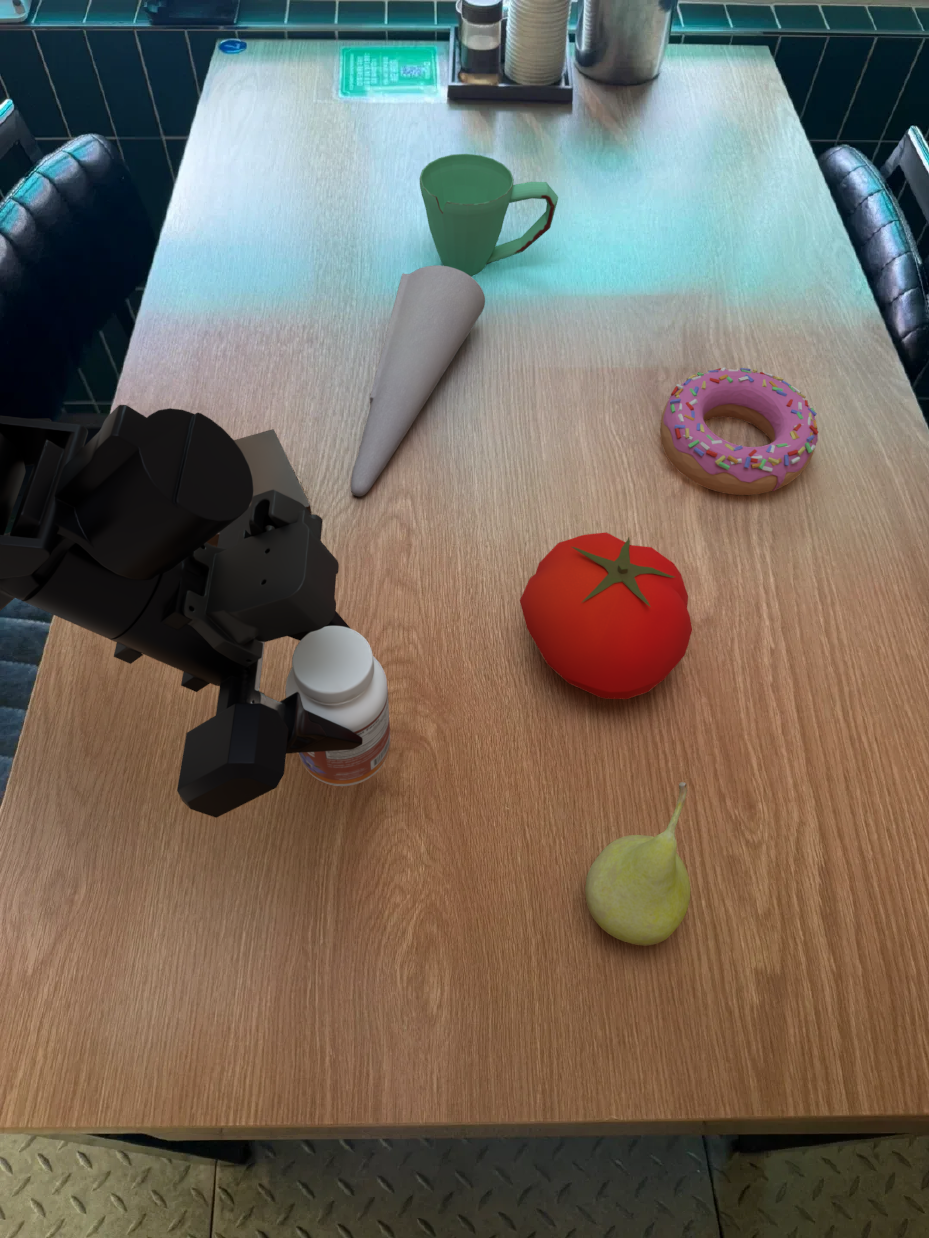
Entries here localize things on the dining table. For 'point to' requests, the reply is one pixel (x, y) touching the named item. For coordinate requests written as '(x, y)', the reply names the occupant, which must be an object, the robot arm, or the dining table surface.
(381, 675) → the pill bottle
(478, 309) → the grey tapered cone
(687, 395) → the donut
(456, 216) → the mug
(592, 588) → the tomato
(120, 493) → the robot arm
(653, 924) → the fruit
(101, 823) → the dining table surface
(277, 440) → the dark wooden box
